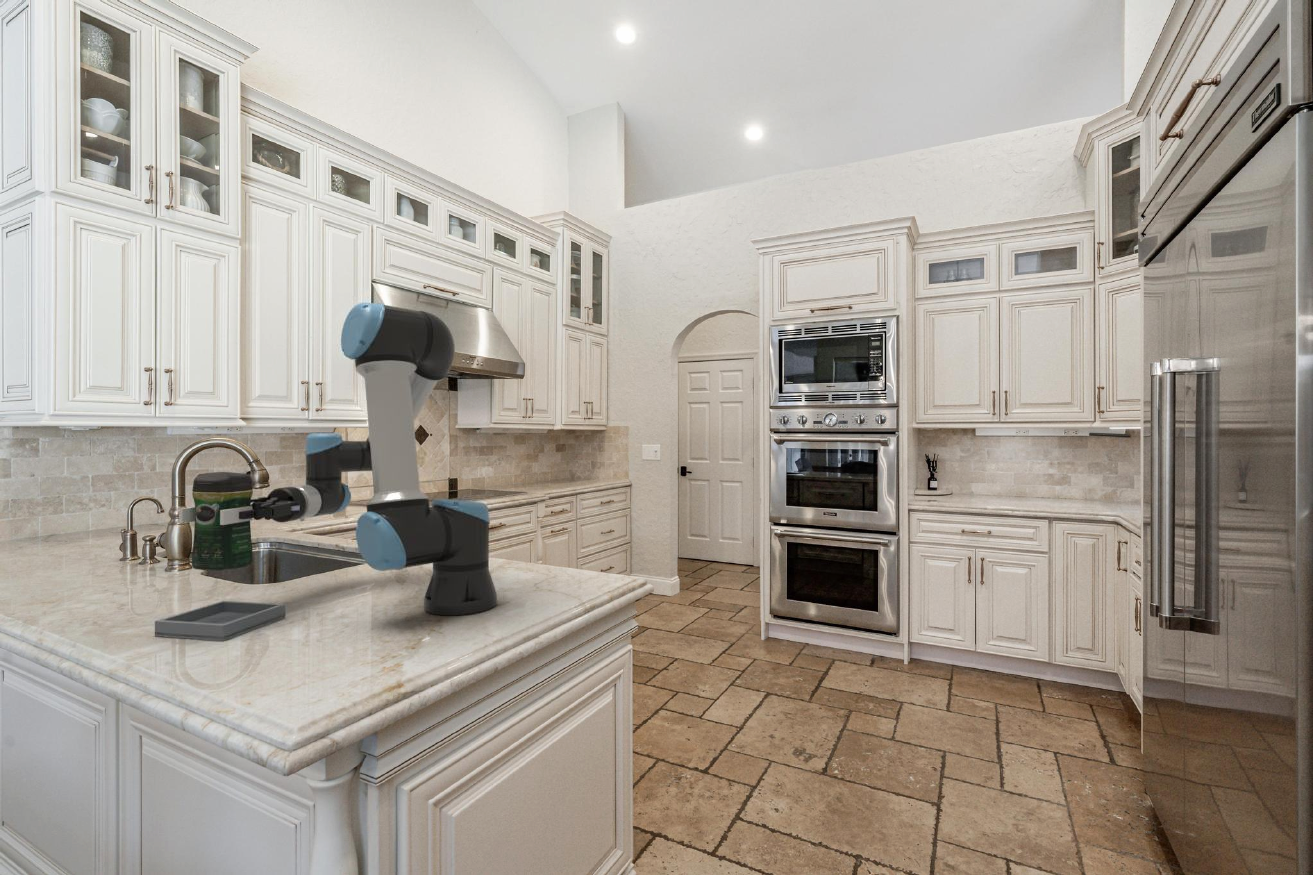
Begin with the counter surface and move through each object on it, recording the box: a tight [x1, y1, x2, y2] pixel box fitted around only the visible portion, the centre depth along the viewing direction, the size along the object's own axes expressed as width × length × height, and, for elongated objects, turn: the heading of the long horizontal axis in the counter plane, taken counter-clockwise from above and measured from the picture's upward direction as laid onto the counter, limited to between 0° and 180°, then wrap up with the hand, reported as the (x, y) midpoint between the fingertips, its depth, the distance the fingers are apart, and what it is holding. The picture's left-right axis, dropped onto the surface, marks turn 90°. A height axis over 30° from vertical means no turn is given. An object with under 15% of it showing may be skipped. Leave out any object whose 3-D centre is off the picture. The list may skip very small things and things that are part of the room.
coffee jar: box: [191, 471, 254, 572], centre depth 120 cm, size 10×8×19 cm
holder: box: [154, 600, 286, 642], centre depth 120 cm, size 15×15×3 cm
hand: (201, 516), depth 115 cm, fingers closed on coffee jar, 8 cm apart
